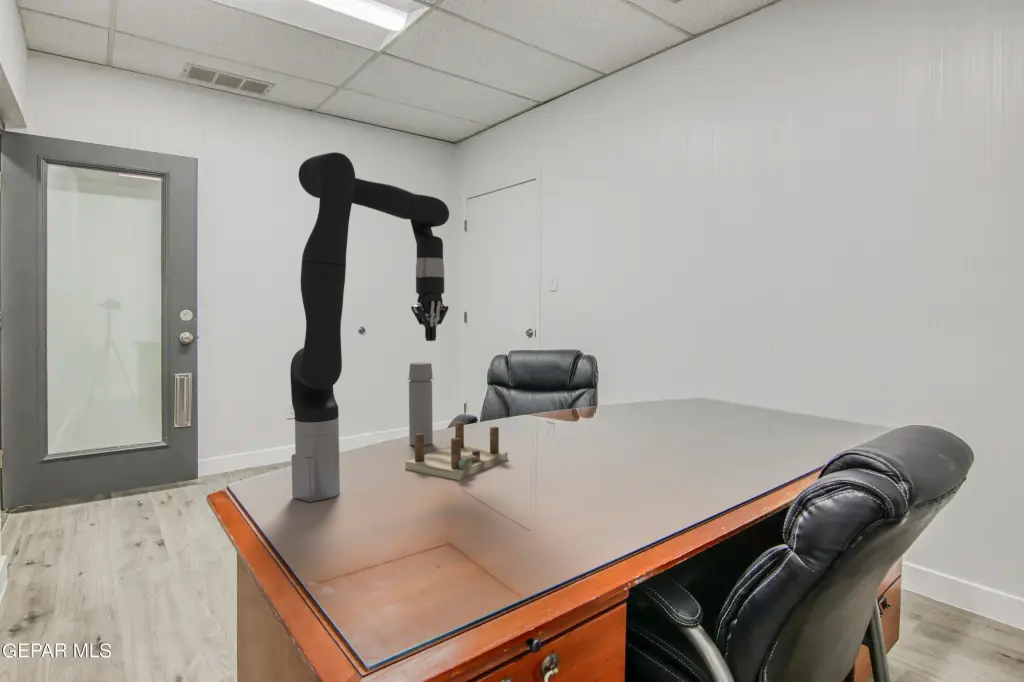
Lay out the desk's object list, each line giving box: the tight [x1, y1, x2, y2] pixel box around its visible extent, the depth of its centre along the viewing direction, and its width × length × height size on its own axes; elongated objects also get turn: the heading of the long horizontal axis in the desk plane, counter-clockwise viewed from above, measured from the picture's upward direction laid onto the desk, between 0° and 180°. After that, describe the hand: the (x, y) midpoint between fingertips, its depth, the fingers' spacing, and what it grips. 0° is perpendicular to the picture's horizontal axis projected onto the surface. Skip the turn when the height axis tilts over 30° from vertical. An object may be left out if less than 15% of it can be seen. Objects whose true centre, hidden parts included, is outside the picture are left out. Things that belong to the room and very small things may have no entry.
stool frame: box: [404, 421, 509, 481], centre depth 148 cm, size 22×17×9 cm
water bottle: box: [407, 361, 434, 447], centre depth 170 cm, size 9×8×25 cm
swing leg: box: [450, 437, 480, 468], centre depth 141 cm, size 11×2×7 cm, turn 148°
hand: (430, 340), depth 148 cm, fingers closed
